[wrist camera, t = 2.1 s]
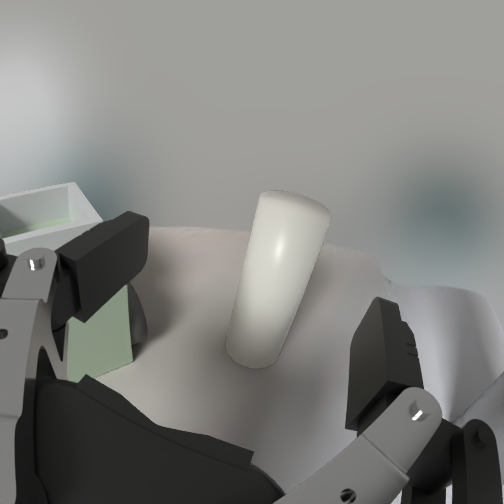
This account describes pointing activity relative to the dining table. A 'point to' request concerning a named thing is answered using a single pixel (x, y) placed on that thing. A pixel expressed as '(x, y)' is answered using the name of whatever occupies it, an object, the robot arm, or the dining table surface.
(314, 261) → the spout tube
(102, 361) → the pale green toy car
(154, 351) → the dining table surface
